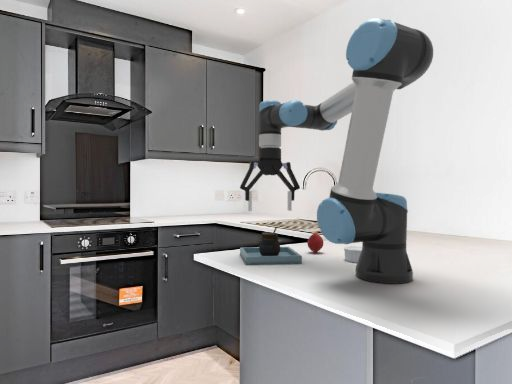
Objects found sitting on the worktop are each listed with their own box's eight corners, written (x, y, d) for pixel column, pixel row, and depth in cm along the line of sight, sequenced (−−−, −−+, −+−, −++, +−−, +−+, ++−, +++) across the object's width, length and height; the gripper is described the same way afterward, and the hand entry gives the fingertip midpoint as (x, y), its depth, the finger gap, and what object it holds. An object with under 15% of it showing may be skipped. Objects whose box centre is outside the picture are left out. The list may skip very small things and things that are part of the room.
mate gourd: (254, 257, 133) (255, 227, 132) (264, 254, 139) (265, 225, 139) (274, 259, 129) (274, 228, 129) (283, 256, 136) (284, 226, 136)
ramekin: (372, 264, 128) (372, 250, 128) (344, 262, 129) (344, 249, 129) (369, 258, 136) (369, 246, 136) (343, 257, 138) (343, 245, 138)
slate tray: (301, 263, 127) (301, 255, 127) (246, 265, 124) (246, 257, 124) (288, 253, 145) (288, 246, 145) (240, 254, 142) (240, 247, 142)
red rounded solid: (318, 255, 142) (318, 232, 142) (304, 253, 146) (304, 231, 145) (325, 252, 147) (326, 231, 146) (312, 251, 150) (312, 230, 150)
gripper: (302, 149, 139) (302, 209, 139) (232, 148, 135) (232, 210, 136) (308, 147, 132) (308, 210, 132) (234, 146, 128) (234, 211, 128)
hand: (269, 210), depth 134 cm, fingers open, 13 cm apart
